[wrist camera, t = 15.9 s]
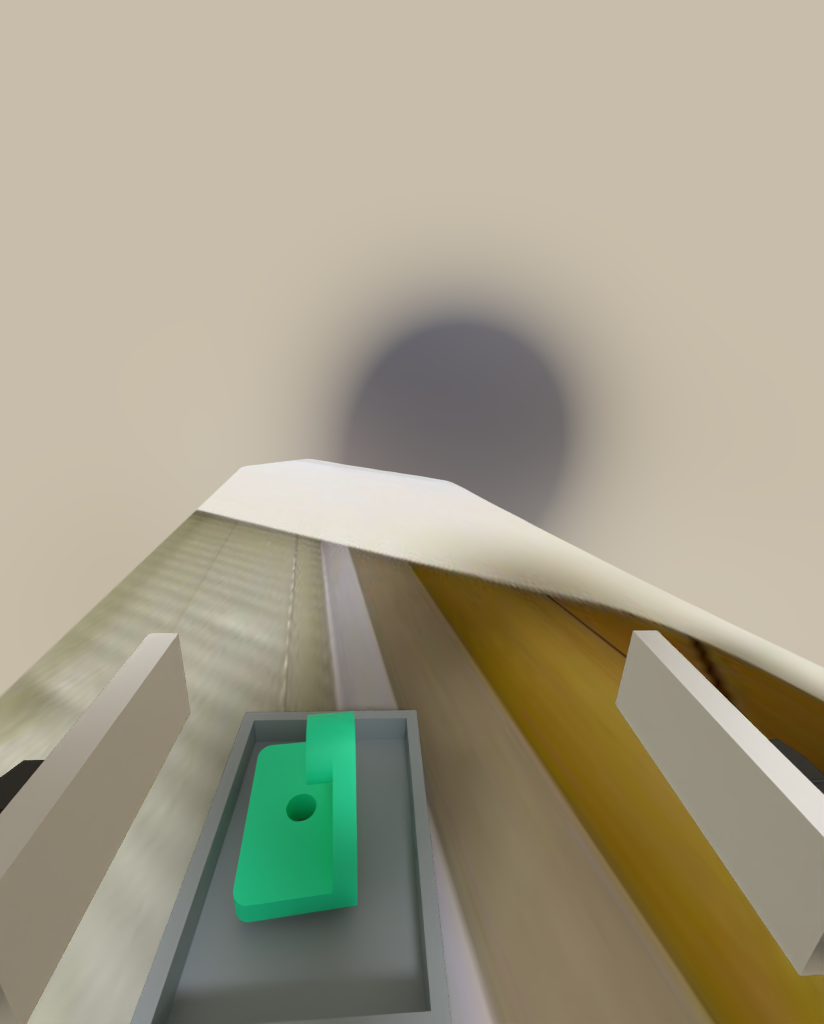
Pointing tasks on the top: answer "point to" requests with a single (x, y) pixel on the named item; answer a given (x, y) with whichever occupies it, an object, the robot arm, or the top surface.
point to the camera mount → (301, 825)
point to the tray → (318, 935)
